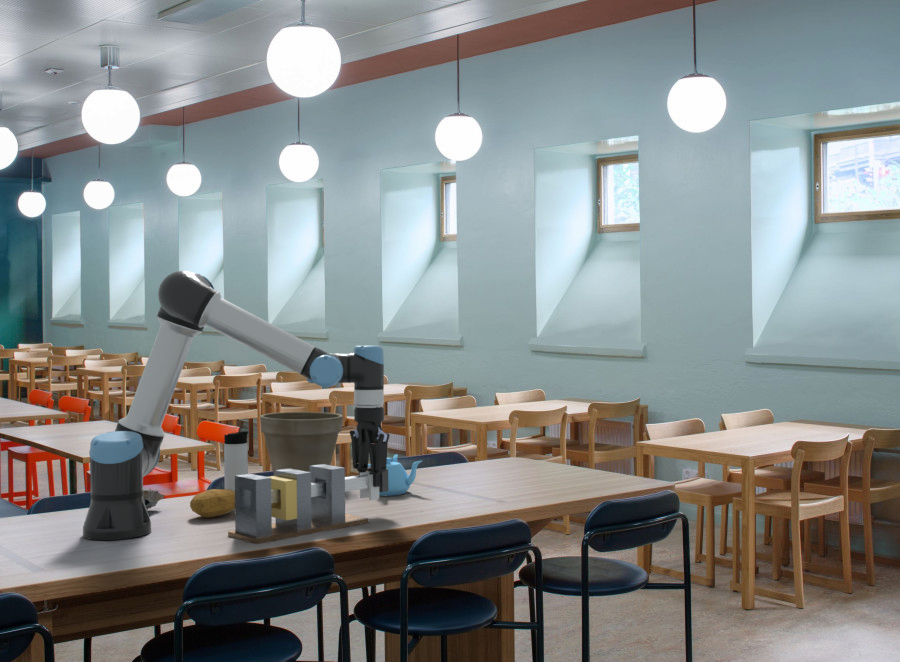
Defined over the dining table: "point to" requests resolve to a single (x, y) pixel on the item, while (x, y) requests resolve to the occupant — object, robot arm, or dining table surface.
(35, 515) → the dining table surface
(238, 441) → the travel mug
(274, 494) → the shaft
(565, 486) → the dining table surface
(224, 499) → the potato
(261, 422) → the plant pot
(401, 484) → the teapot
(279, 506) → the spacer
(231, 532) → the bearing rail
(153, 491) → the mineral specimen
